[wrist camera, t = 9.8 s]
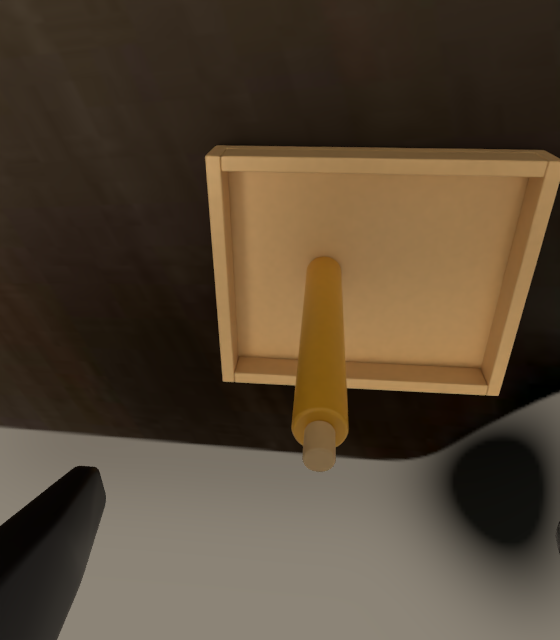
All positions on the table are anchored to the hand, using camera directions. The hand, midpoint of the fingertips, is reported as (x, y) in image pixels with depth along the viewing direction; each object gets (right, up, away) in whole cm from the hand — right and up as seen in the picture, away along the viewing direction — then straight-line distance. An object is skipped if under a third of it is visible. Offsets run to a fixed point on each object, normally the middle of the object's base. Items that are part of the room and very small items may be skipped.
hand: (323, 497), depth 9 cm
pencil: (+1, +5, +9) cm, 11 cm away
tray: (+2, +5, +9) cm, 11 cm away
